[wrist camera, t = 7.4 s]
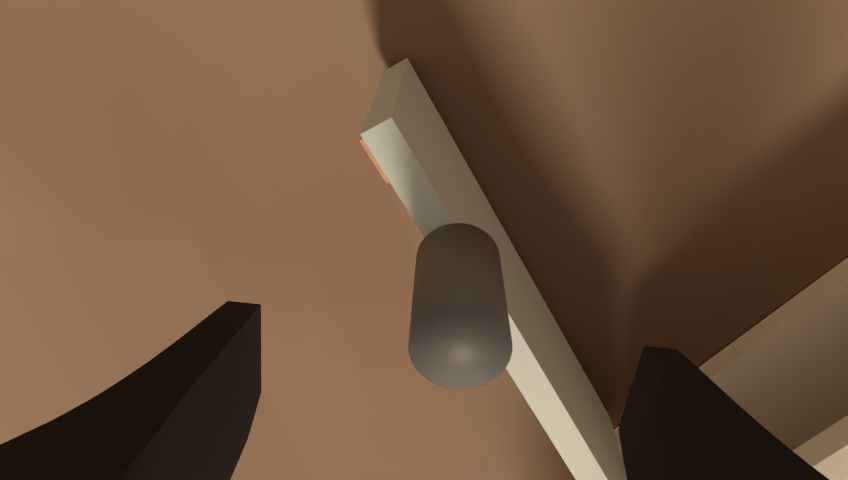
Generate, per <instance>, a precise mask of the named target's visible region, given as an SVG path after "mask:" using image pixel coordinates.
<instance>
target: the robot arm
mask: <svg viewBox="0 0 848 480" xmlns="http://www.w3.org/2000/svg"><path fill="white" fill-rule="evenodd" d="M260 394H261V305H260V304H251V303H241V302H232V301H228V302H226V303H225V304H224V305H222V306H221V307H220V308H218V309H217V310H216V311H214V312H213V313H212V314H210V315H209V316H208V317H207V318H205V319H204V320H203V321H201V322H200V323H199V324H198V325H196V326H195V327H194V328H193V329H191V330H190V331H189V332H188V333H186V334H185V335H184V336H182V337H181V338H180V339H179V340H177V341H176V342H175V343H173V344H172V345H171V346H169V347H168V348H166V349H165V350H164V351H162V352H161V353H160V354H158V355H157V356H156V357H154V358H153V359H152V360H150V361H149V362H147V363H146V364H144V365H143V366H141V367H140V368H139V369H137V370H136V371H134V372H133V373H131V374H130V375H128V376H127V377H125V378H124V379H122V380H121V381H119V382H118V383H116V384H115V385H113V386H112V387H110V388H108V389H107V390H105V391H104V392H102V393H100V394H99V395H97V396H95V397H94V398H92V399H90V400H88V401H87V402H85V403H83V404H81V405H79V406H78V407H76V408H74V409H72V410H70V411H69V412H67V413H65V414H63V415H61V416H59V417H58V418H56V419H54V420H52V421H50V422H48V423H46V424H44V425H41V426H39V427H37V428H35V429H33V430H31V431H29V432H26V433H24V434H22V435H20V436H18V437H16V438H14V439H12V440H9V441H7V442H5V443H3V444H1V445H0V480H230V479H231V476H232V474H233V472H234V469H235V467H236V465H237V462H238V460H239V458H240V455H241V453H242V451H243V448H244V446H245V444H246V441H247V439H248V435H249V432H250V429H251V425H252V422H253V419H254V415H255V412H256V408H257V404H258V401H259V397H260ZM618 431H619V437H620V443H621V449H622V456H623V461H624V466H625V471H626V476H627V480H829V479H828V478H827V477H825V476H824V475H823V474H821V473H820V472H819V471H817V470H816V469H815V468H813V467H812V466H811V465H809V464H808V463H807V462H806V461H804V460H803V459H802V458H801V457H799V456H798V455H797V454H796V453H795V452H793V451H792V450H791V449H790V448H788V447H787V446H786V445H785V444H783V443H782V442H781V441H780V440H778V439H777V438H776V437H775V436H774V435H773V434H771V433H770V432H769V431H768V430H767V429H765V428H764V427H763V426H762V425H761V424H760V423H759V422H757V421H756V420H755V419H754V418H753V417H752V416H751V415H749V414H748V413H747V412H746V411H745V410H744V409H743V408H742V407H740V406H739V405H738V404H737V403H736V402H735V401H734V400H733V399H732V398H731V397H729V396H728V395H727V394H726V393H725V392H724V391H723V390H722V389H721V388H720V387H718V386H717V385H716V384H715V383H714V382H713V381H712V380H711V379H710V378H709V377H708V376H706V375H705V374H704V373H703V372H702V371H701V370H700V369H699V368H698V367H697V366H695V365H694V364H693V363H692V362H691V361H690V360H689V359H687V358H686V357H685V356H684V355H683V354H681V353H680V352H679V351H678V350H675V349H665V348H656V347H647V346H644V349H643V352H642V355H641V358H640V362H639V365H638V368H637V371H636V374H635V378H634V381H633V384H632V387H631V390H630V394H629V397H628V400H627V403H626V406H625V410H624V413H623V416H622V419H621V422H620V426H619V429H618Z"/></svg>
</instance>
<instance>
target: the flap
mask: <svg viewBox="0 0 848 480" xmlns="http://www.w3.org/2000/svg"><path fill="white" fill-rule="evenodd" d="M360 135H361V137H360V140H359V141H360V142H361V144H362V145H363V147H364V149H365V150H366V152H367V153H368V155H369V157H370V158H371V160H372V161H373V163H374V165H375V166H376V168H377V169H378V171H379V173H380V174H381V176H382V177H383V179H384V181H385V182H386V184H387V183H389V182H390V183H391V185H392V186H393V188H394V189H395V191H396V193H397V194H398V196H399V197H400V199H401V201H402V202H403V204H404V206H405V207H406V209H407V210H408V212H409V214H410V215H411V217H412V218H413V220H414V222H415V223H416V225H417V226H418V228H419V230H420V231H421V233H422V234H423V236H424V240H423V241H422V242H421V244H420V246H419V248H418V252H417V257H416V268H415V279H414V290H413V301H412V312H411V323H410V334H409V346H408V348H409V355H410V359H411V361H412V363H413V365H414V367H415V368H416V369H417V371H418V372H419V373H420V374H421V375H422V376H423V377H425V378H426V379H427V380H429V381H430V382H432V383H434V384H437V385H439V386H442V387H445V388H450V389H471V388H475V387H479V386H482V385H485V384H487V383H489V382H491V381H492V380H494V379H495V378H496V377H498V376H499V375H500V374H501V373H502V372H503V371H504V369H505V368H506V369H507V370H508V372H509V374H510V375H511V377H512V378H513V380H514V382H515V383H516V385H517V386H518V388H519V390H520V391H521V393H522V394H523V396H524V398H525V399H526V401H527V402H528V404H529V406H530V407H531V409H532V410H533V412H534V414H535V415H536V417H537V418H538V420H539V422H540V423H541V425H542V426H543V428H544V430H545V431H546V433H547V434H548V436H549V438H550V439H551V441H552V442H553V444H554V446H555V447H556V449H557V450H558V452H559V454H560V455H561V457H562V459H563V460H564V462H565V463H566V465H567V467H568V468H569V470H570V471H571V473H572V475H573V476H574V478H575V479H576V480H627V476H626V471H625V466H624V461H623V458H622V454H621V451H620V448H619V445H618V442H617V438H616V435H615V432H614V429H613V425H612V422H611V419H610V416H609V415H608V413H607V411H606V409H605V408H604V406H603V404H602V402H601V400H600V399H599V397H598V395H597V393H596V392H595V390H594V388H593V386H592V384H591V383H590V381H589V379H588V377H587V376H586V374H585V372H584V370H583V369H582V367H581V365H580V363H579V361H578V360H577V358H576V356H575V354H574V353H573V351H572V349H571V347H570V345H569V344H568V342H567V340H566V338H565V337H564V335H563V333H562V331H561V330H560V328H559V326H558V324H557V322H556V321H555V319H554V317H553V315H552V314H551V312H550V310H549V308H548V306H547V305H546V303H545V301H544V299H543V298H542V296H541V294H540V292H539V291H538V289H537V287H536V285H535V283H534V282H533V280H532V278H531V276H530V275H529V273H528V271H527V269H526V267H525V266H524V264H523V262H522V260H521V259H520V257H519V255H518V253H517V252H516V250H515V248H514V246H513V244H512V243H511V241H510V239H509V237H508V236H507V234H506V232H505V230H504V228H503V227H502V225H501V223H500V221H499V220H498V218H497V216H496V214H495V213H494V211H493V209H492V207H491V205H490V204H489V202H488V200H487V198H486V197H485V195H484V193H483V191H482V189H481V188H480V186H479V184H478V182H477V181H476V179H475V177H474V175H473V174H472V172H471V170H470V168H469V166H468V165H467V163H466V161H465V159H464V158H463V156H462V154H461V152H460V150H459V149H458V147H457V145H456V143H455V142H454V140H453V138H452V136H451V134H450V133H449V131H448V129H447V127H446V126H445V124H444V122H443V120H442V119H441V117H440V115H439V113H438V111H437V110H436V108H435V106H434V104H433V103H432V101H431V99H430V97H429V95H428V94H427V92H426V90H425V88H424V87H423V85H422V83H421V81H420V80H419V78H418V76H417V74H416V72H415V71H414V69H413V67H412V65H411V64H410V62H409V60H408V58H406V59H404V60H402V61H400V62H399V63H397V64H395V65H393V66H392V67H390V68H388V69H386V70H385V71H384V72H383V75H382V78H381V80H380V83H379V86H378V88H377V91H376V94H375V96H374V99H373V102H372V104H371V107H370V109H369V112H368V115H367V117H366V120H365V123H364V125H363V128H362V131H361V133H360Z"/></svg>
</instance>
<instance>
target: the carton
mask: <svg viewBox="0 0 848 480" xmlns="http://www.w3.org/2000/svg"><path fill="white" fill-rule="evenodd" d="M698 368H699V369H700V370H701V371H702V372H703V373H704V374H705V375H706V376H708V377H709V378H710V379H711V380H712V381H713V382H714V383H715V384H716V385H717V386H718V387H720V388H721V389H722V390H723V391H724V392H725V393H726V394H727V395H728V396H729V397H731V398H732V399H733V400H734V401H735V402H736V403H737V404H738V405H739V406H740V407H742V408H743V409H744V410H745V411H746V412H747V413H748V414H749V415H751V416H752V417H753V418H754V419H755V420H756V421H757V422H759V423H760V424H761V425H762V426H763V427H764V428H765V429H767V430H768V431H769V432H770V433H771V434H773V435H774V436H775V437H776V438H777V439H778V440H780V441H781V442H782V443H783V444H785V445H786V446H787V447H788V448H790V449H791V450H792V451H793V452H795V453H796V454H797V455H798V456H799V457H801V458H802V459H803V460H804V461H806V462H807V463H808V464H809V465H811V466H812V467H813V468H815V469H816V470H817V471H819V472H820V473H821V474H823V475H824V476H825V477H827V478H828V479H829V480H848V257H847V258H846V259H845V260H843V261H842V262H841V263H839V264H838V265H836V266H835V267H834V268H832V269H831V270H830V271H828V272H827V273H826V274H824V275H823V276H822V277H820V278H819V279H818V280H816V281H815V282H813V283H812V284H811V285H809V286H808V287H807V288H805V289H804V290H803V291H801V292H800V293H799V294H797V295H796V296H794V297H793V298H792V299H790V300H789V301H788V302H786V303H785V304H784V305H782V306H781V307H780V308H778V309H777V310H776V311H774V312H773V313H771V314H770V315H769V316H767V317H766V318H765V319H763V320H762V321H761V322H759V323H758V324H757V325H755V326H754V327H752V328H751V329H750V330H748V331H747V332H746V333H744V334H743V335H742V336H740V337H739V338H738V339H736V340H735V341H734V342H732V343H731V344H729V345H728V346H727V347H725V348H724V349H723V350H721V351H720V352H719V353H717V354H716V355H715V356H713V357H712V358H710V359H709V360H708V361H706V362H705V363H704V364H702V365H701V366H700V367H698ZM618 429H619V426H618V427H617V428H616V429H614V432H615V435H616V438H617V442H618V445H619V448H620V451H621V454H622V449H621V443H620V437H619V431H618ZM622 458H623V456H622Z"/></svg>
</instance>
